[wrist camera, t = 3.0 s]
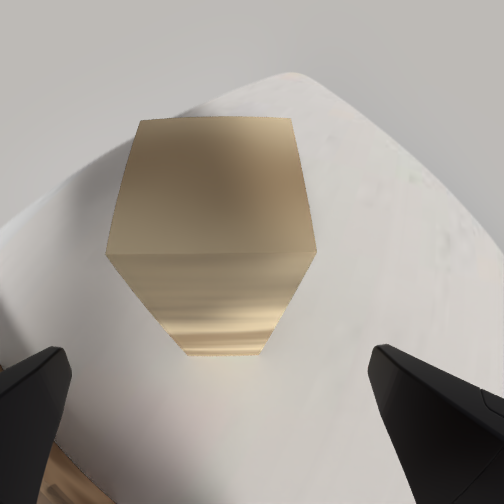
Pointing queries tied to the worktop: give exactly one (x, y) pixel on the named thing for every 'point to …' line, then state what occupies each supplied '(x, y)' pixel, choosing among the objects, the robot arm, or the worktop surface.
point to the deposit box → (67, 482)
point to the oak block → (213, 229)
